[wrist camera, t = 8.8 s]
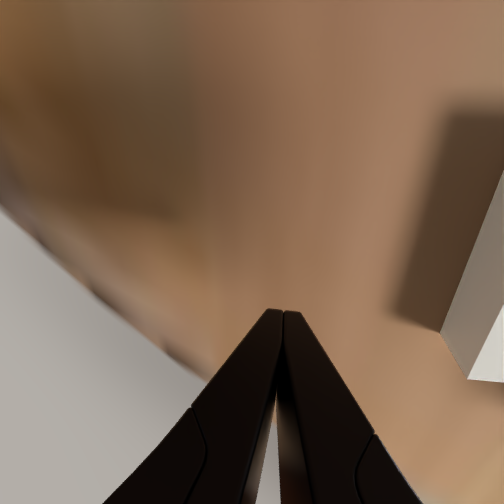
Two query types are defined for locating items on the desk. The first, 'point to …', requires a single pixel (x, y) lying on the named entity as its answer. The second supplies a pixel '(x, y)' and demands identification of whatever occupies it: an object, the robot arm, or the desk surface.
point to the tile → (481, 302)
